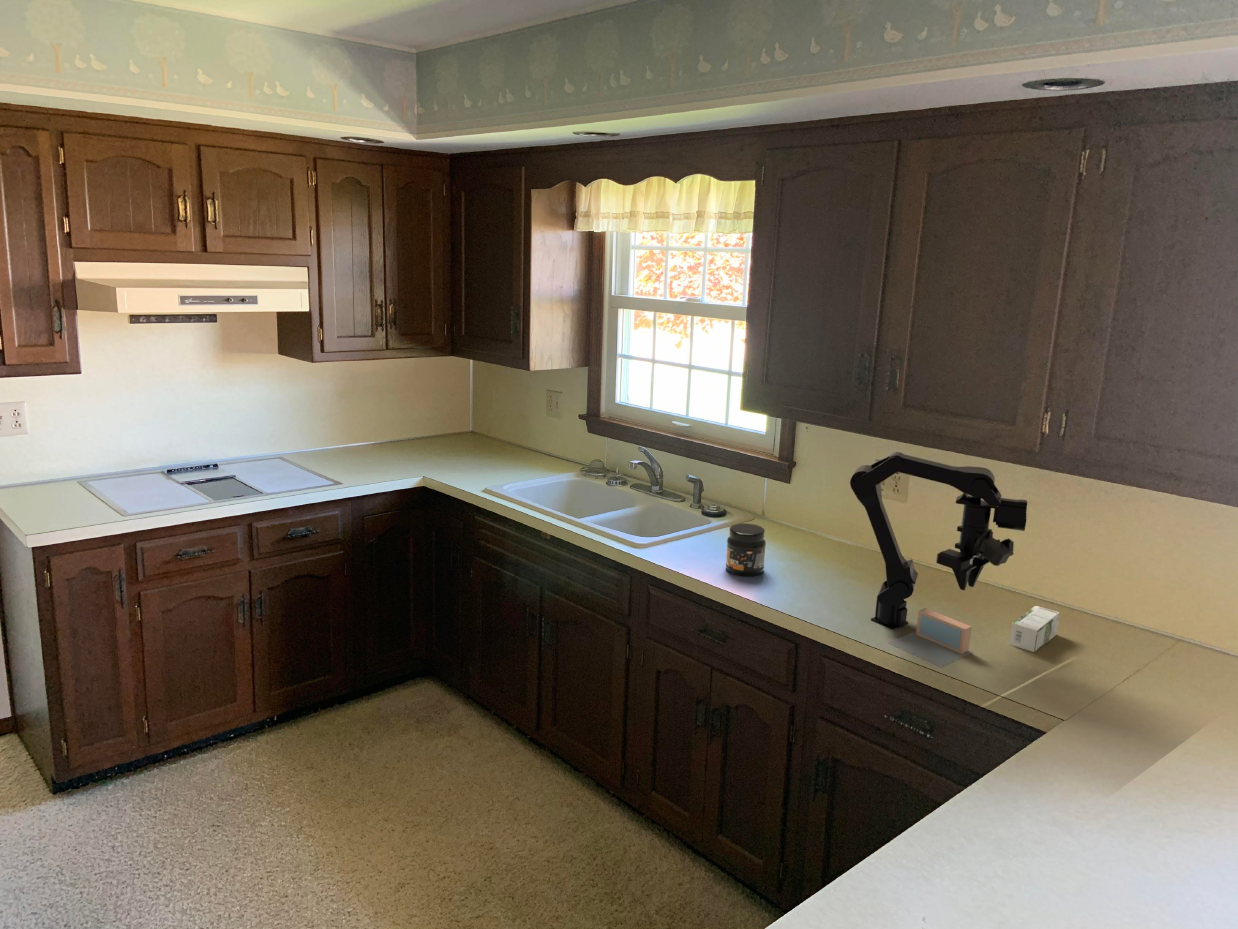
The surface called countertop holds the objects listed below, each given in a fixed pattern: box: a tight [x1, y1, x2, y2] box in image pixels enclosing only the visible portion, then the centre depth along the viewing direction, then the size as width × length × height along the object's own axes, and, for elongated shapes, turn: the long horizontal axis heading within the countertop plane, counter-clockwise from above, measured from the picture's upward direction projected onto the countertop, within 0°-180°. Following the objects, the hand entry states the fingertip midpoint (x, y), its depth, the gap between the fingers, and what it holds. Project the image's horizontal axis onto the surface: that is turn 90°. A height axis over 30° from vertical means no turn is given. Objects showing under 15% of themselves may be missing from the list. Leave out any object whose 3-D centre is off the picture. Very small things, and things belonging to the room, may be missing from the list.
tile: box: [915, 607, 972, 654], centre depth 206 cm, size 12×3×6 cm, turn 37°
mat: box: [887, 630, 973, 668], centre depth 204 cm, size 14×12×1 cm
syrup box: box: [1009, 605, 1060, 653], centre depth 209 cm, size 6×6×14 cm
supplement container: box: [725, 522, 767, 577], centre depth 246 cm, size 10×10×12 cm
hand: (966, 588), depth 208 cm, fingers open, 3 cm apart
